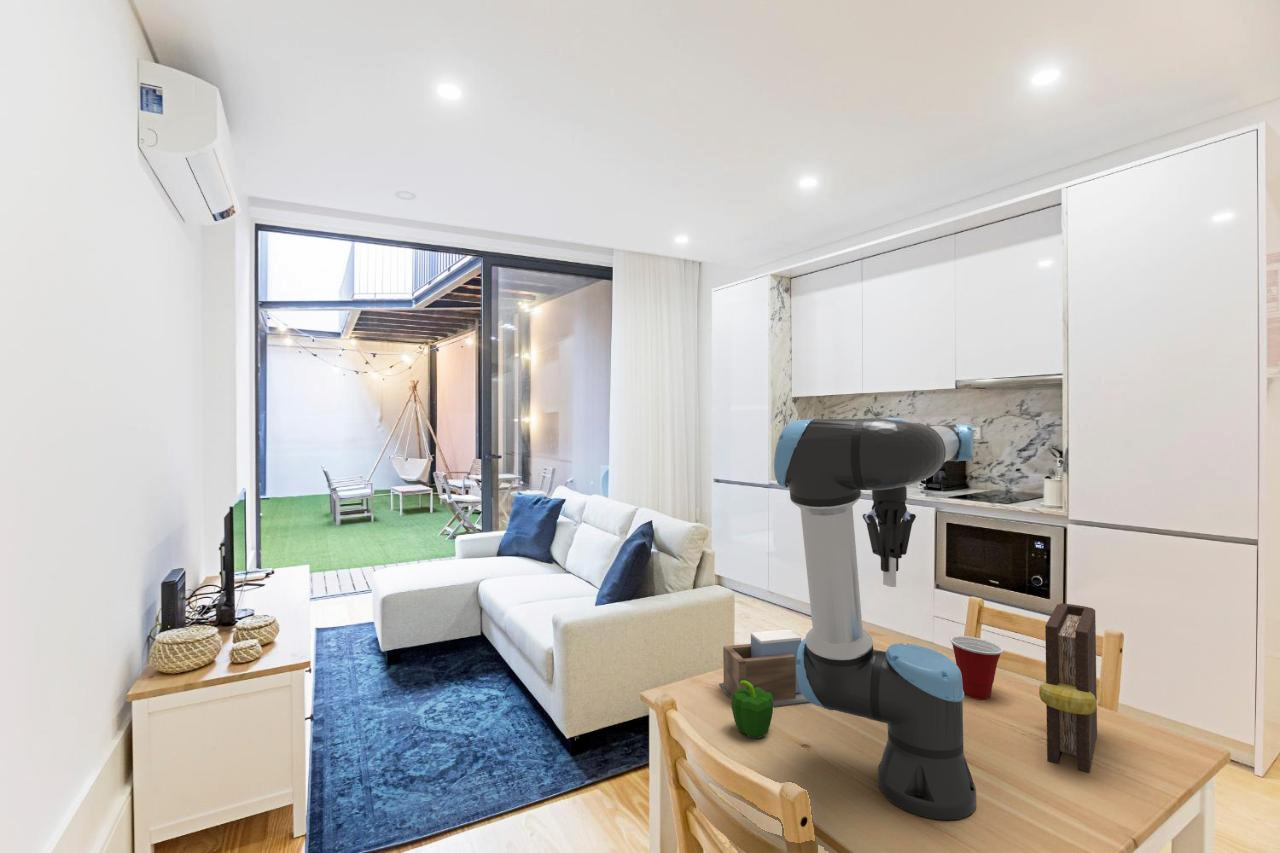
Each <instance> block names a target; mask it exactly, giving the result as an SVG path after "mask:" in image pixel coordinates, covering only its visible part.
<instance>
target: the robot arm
mask: <svg viewBox="0 0 1280 853" xmlns="http://www.w3.org/2000/svg"><path fill="white" fill-rule="evenodd" d="M777 439H778V441H777V442H776V447H775V451H774V457H773V458H774V459H773V474H774V476H775V478H774V479H775V480H776V482H777V485H779V486H780V487H783V488H788V490H789V499H790V501H791V503H793V504H794V505H795V506H796V507H798V508H799V509H800V516H801V517H800V518H801V526H802V536H803V537H802V538H803V548H804V556H805V564H806V566H805V567H806V575H807V587H808V594H809V596H808V597H809V605H810V615H811V626H812V628H811V629H810V630H808V631H807V633H806V635H805V637H804V638H802V639H801V643H800V645H799V648H798V652H797V658H796V659H797V665H796V674H797V680H798V685H799V688H800V690H801V693H802V694H803V696H804V697H805V699H806V700H807V701H809V702H810V703H809V704H812V705H815V706H818V707H821V708H823V709H826V710H828V711H836V712H839V713H840V712H841V713H844V714H848V715H852V716H856V717H861V718H864V719H868V720H872V721H877V722H880V723H883V724H886V725H887V741H886V744H885V746H884V750H883V753H882V756H881V759H880V762H879V764H878V766H877V772H876V773H877V774H876V775H877V787H878V789H879V791H880V792H881V794H882V795H883V796H884V797H885V798H886V799H887V800H888V801H889V802H891V803H892V804H893V805H895V806H897V807H899V808H900V809H903V810H905V811H906V812H908V813H911V814H914V815H917V816H921V817H923V818H929V819H934V820H935V819H936V820H943V821H944V820H945V821H947V820H948V821H949V820H952V821H953V820H958V819H963V818H966V817H968V816H970V815H972V814H973V813H974V812H975V810H976V808H977V789H976V785H975V783H974V779H973V776H972V773H971V771H970V769H969V765H968V762H967V759H966V756H965V753H964V700H965V699H964V698H965V695H964V691H963V685H962V674H961V671H960V669H959V667H958V666H957V665H956V662H955V661H954V660H952V659H951V658H950V657H948V656H946V655H944V654H943V653H941V652H938V651H937V650H935V649H931V648H928V647H926V646H922V645H918V644H912V643H906V644H904V643H894V644H890V645H889V646H888V647H887V649H886V651H883V650H878V649H874V641H873V637H872V635H871V634H870V632H868V631H867V630H866V629H865V628H864V627H863V620H862V606H861V605H862V604H861V594H860V593H861V592H860V582H859V570H858V558H857V557H858V556H857V546H856V533H855V521H854V511H853V507H854V505H855V504H856V503H857V502H858V501H859V500H860V499H861V497H862V492H861V491H871V498H872V501H873V504H872V506H871V511H869V512H868V513H863V514H862V518H863V520H864V523H865V524H866V528H867V532H868V536H869V541H870V547H871V551H872V554H874V555H877V556H878V557H879V558H880V570H881V571H882V576H883V577H882V579H883V580H882V584H883V585H884V586H887V587H889V588H895V587H897V572H898V571H899V569H900V568H899V567H900V566H899V564H900V562H899V560H900V559H902V557H903V556H904V555H906V554H907V553H908V546H909V542H910V538H911V537H910V536H911V532H912V526H913V524H914V521H915V520H916V518H917V515H916V514H915V513H911V512H910V511H908V508H907V506H906V502H907V500H908V498H907V497H908V495H907V494H908V492H907V490H908V489H907V488H908V487H906V486H910V485H914V484H916V483H919V482H923V481H925V480H928V479H929V478H931V477H932V476H934V475H935V474H936V473H938V472H939V471H940V469H941V468H942V467H943V465H944V464H945V463H946V462H961V461H963V462H964V461H965V462H966V461H971V460H972V459H973V457H974V452H975V451H974V447H975V446H974V445H975V442H974V441H975V440H974V439H975V438H974V430H973V427H972V426H970V425H969V424H957V423H956V424H955V423H953V424H923V423H918V422H910V421H905V419H903V418H897V417H895V418H894V417H893V418H892V417H891V418H889V417H888V418H885V417H884V418H880V417H868V418H815V417H812V418H810V419H796V420H793V421H791V422H788V423H787V424H786V425H785V426H784V427H783V429H782V430H781V432H780V434H779V436H778V438H777Z"/></svg>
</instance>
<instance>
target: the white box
mask: <svg viewBox="0 0 1280 853" xmlns="http://www.w3.org/2000/svg"><path fill="white" fill-rule="evenodd" d="M801 642H802V637H801V636H800V635H799V634H797V633H795V632H794V631H792V630H791V629H789V628H788V629H778V630H777V629H776V630H766V631H765V630H763V631H755V632H754V631H753V632H750V644H751V658H755V657H765V656H775V655H786V654H793V655H794V656H795V674H796V665H797V659H796V658H797V652H798V648H799V645H800V643H801ZM798 692H801V690H800V688H799V685H798V680H797V674H796V693H798Z"/></svg>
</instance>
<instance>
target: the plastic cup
mask: <svg viewBox="0 0 1280 853" xmlns="http://www.w3.org/2000/svg"><path fill="white" fill-rule="evenodd" d="M949 639H950V640H949V641H950V643H951V645H952V649H953V653H954V658H955V664H956V665H957V666H958V667H959V669H960V671H961V674H962V685H963V691H964V696H966V697H968V698H971V699H976V700H987V699H990V697H991V695H992V691H993V684H994V682H995V676H996V672H997V666H998V663H999V659H1000V656H1001V654H1003V653H1004V649H1003V647H1002V646H1000V645H999V644H997V643H996V642H992V641H990V640H986V639H982V638H980V637H979V638H978V637H973V636H969V635H967V636H966V635H955V636H952V637H950V638H949Z"/></svg>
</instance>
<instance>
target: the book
mask: <svg viewBox="0 0 1280 853" xmlns="http://www.w3.org/2000/svg"><path fill="white" fill-rule="evenodd" d="M1096 624H1097V623H1096V609H1094V608H1093V607H1090V606H1089V607H1088V606H1086V605H1085V606H1084V605H1078V604H1077V605H1076V604H1072V603H1057V604H1056V606H1055V607H1054V610H1053V611H1052V613H1051V615H1050V616H1049V618H1048V620H1047V622H1046V624H1045V625H1044V626H1045V627H1044V628H1045V629H1044V630H1045V631H1044V633H1045V682H1042V683H1041V684H1040V685H1039V687H1038V688H1039V689H1038V690H1039V691H1038V693H1039V697H1040V701H1041V702H1042V703H1044V704H1045V705H1046V706H1045V707H1046V760H1047V762H1049V763H1052V764H1054V765H1059V764H1060V762H1061V759H1062V755H1063V753H1064V754H1065V753H1066V754H1069V755H1072V756H1076V760H1077V761H1076V764H1077V765H1076V769H1077V771H1079V772H1081V773H1082V772H1083V773H1085V774H1090V773H1091V769H1092V763H1093V759H1094V754H1095V753H1094V752H1095V749H1096V748H1095V747H1096V743H1097V738H1098V708H1097V707H1098V706H1097V705H1098V704H1097V702H1098V701H1097V699H1098V697H1097V696H1098V695H1097V638H1096V637H1097V635H1096V633H1097V630H1096V629H1097V628H1096Z"/></svg>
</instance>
